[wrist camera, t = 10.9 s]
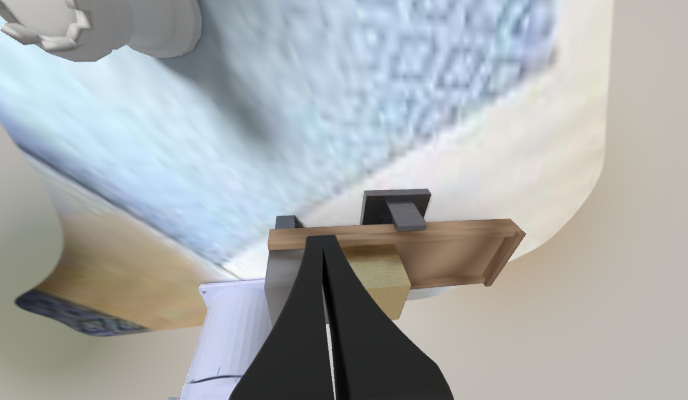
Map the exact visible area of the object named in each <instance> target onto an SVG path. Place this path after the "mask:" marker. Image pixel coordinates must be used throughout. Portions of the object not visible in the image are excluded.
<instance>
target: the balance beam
mask: <svg viewBox="0 0 688 400" xmlns="http://www.w3.org/2000/svg"><path fill="white" fill-rule="evenodd" d="M425 223H426V224H427V226H426V229H425V230H411V231H396V229H395V226H394V224H381V225H359V226H337V227H315V228H293V229H271V230H270V232H269V238H268V250H269V256H268V263H267V271H266V278H265V285H264V290H265V295H266V300H267V304H268V309H269V314H270V319H271V323H272V328H273V327H274V325H275V323H276V321H277V319H278V317H279V315H280V313H281V311H282V309H283V307H284V305H285V303H286V301H287V299H288V296H289V294H290V292H291V289H292V287H293V284H294V282H295V279H296V277H297V274H298V271H299V268H300V265H301V262H302V258H303V254H304V250H305V244H306V237H308V236H316V235H335V236H336V237H337V240H338V242H339V245H340V247H350V246H366V245H383V244H395V247H396V249H397V252H398V254H399V256H400V259H401V261H402V264H403V266H404V269H405V271H406V274H407V276H408V278H409V281H410V283H411V287H410V289H421V288H433V287H444V286H456V285H467V284H478V283H483V284H484V285H485V286H491V285H492V284H493V282H494V281H495V279H496V278H497V276H498V275H499V273H500V272H501V270H502V269H503V267H504V266H505V265H506V263H507V262H508V260H509V259H510V257H511V256H512V254H513V253H514V251H515V250H516V248H517V247H518V245H519V244H520V242H521V241H522V239H523V238H524V237H525V235H526V233H525V232H524V231H522V230H521V229H520V228H519V227H518V226H517V225H516V224H515V223H514V222H513V221H512V220H511V219H490V220H469V221H447V222H425ZM322 293H323V303H324V314H325V323H326V324H329V321H328V315H327V309H326V303H325V297H324V291H323V285H322Z"/></svg>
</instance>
